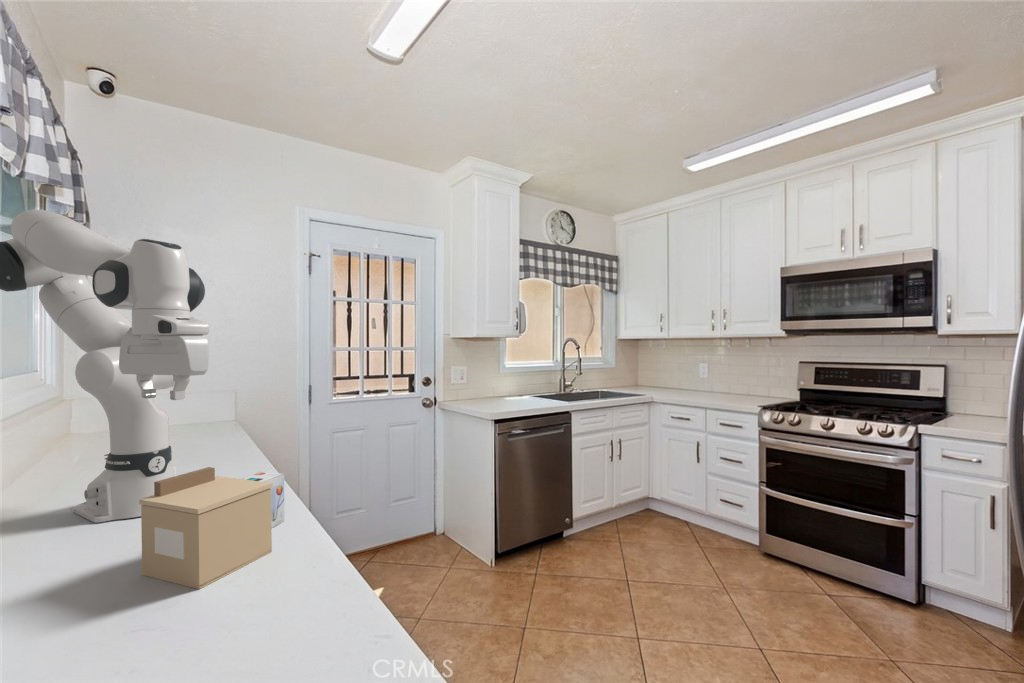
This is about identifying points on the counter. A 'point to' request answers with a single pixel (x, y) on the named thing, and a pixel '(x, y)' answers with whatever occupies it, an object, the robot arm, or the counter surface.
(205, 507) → the carton lid
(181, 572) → the carton
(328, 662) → the counter surface
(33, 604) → the counter surface
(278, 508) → the light bulb box
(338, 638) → the counter surface
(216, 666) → the counter surface
